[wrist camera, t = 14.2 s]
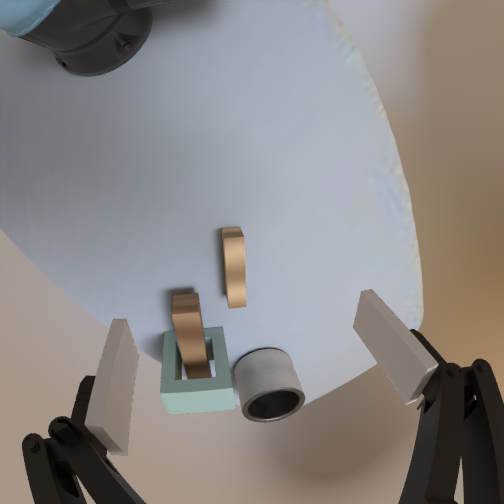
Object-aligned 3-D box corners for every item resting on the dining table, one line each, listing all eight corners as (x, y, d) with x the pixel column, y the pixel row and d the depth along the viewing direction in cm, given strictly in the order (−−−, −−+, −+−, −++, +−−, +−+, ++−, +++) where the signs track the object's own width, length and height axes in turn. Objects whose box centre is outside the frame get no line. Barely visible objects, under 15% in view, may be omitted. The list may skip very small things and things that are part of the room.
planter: (237, 388, 59) (245, 427, 49) (229, 352, 54) (237, 396, 44) (290, 377, 61) (304, 414, 51) (289, 340, 55) (307, 380, 45)
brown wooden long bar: (173, 295, 43) (171, 314, 38) (198, 292, 44) (199, 312, 39) (193, 381, 52) (194, 401, 48) (212, 380, 53) (215, 399, 49)
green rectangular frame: (164, 331, 49) (160, 393, 36) (222, 326, 50) (232, 387, 38) (170, 354, 51) (169, 413, 38) (225, 349, 53) (235, 408, 40)
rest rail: (221, 228, 42) (224, 238, 39) (240, 226, 43) (244, 236, 39) (226, 294, 48) (228, 308, 44) (242, 293, 48) (246, 306, 44)
